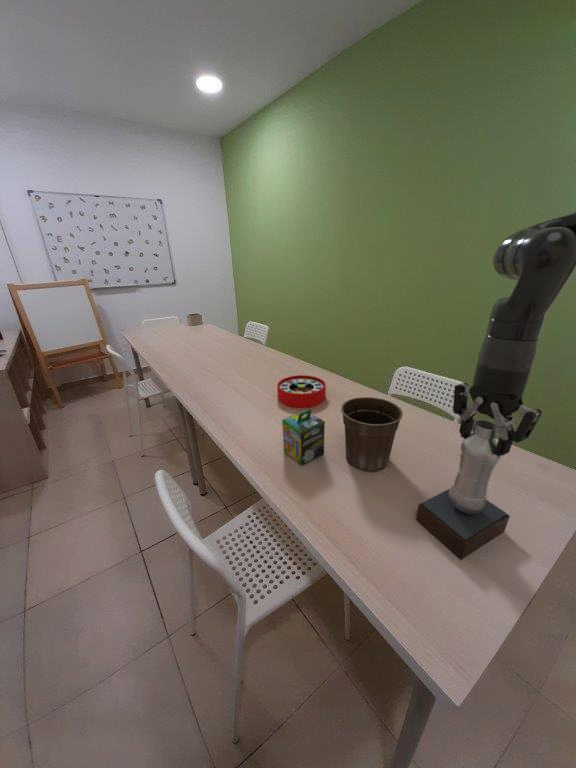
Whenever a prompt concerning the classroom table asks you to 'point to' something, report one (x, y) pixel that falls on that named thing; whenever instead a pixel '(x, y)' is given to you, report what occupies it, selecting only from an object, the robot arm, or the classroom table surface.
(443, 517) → the step block
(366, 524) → the classroom table surface
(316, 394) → the toy clock
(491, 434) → the plastic bottle
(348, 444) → the plant pot
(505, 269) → the robot arm
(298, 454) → the chalk box
